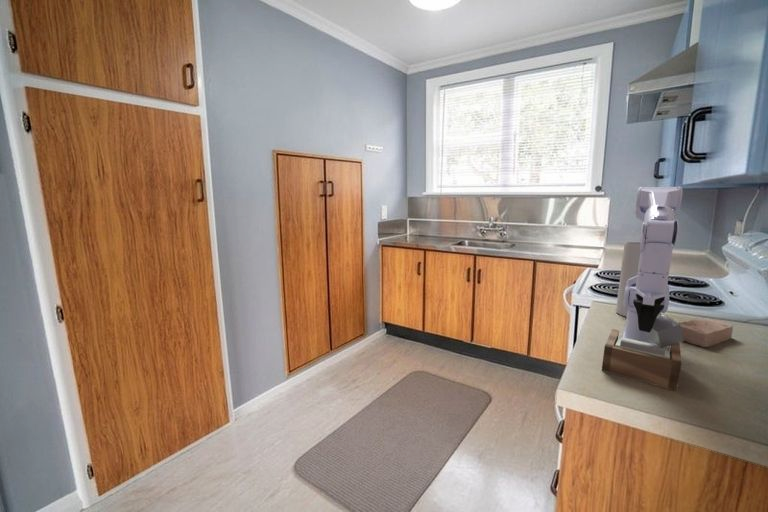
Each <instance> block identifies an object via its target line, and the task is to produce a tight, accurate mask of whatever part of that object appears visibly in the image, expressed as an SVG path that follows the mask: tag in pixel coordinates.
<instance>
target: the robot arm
mask: <svg viewBox="0 0 768 512" xmlns="http://www.w3.org/2000/svg"><path fill="white" fill-rule="evenodd" d="M683 192H684V190H683V188H682V186H679V185H678V186H652V187H651V186H648V187H647V186H645V187H644V186H639V188H638V189H637V193H636V201H635V202H636V203H635V215H636V216H635V218H636V219H638V220H640V221H642V224H641V228H640V229H641V230H640V237H639V242H641V248H640V251H641V254H640V260H639V268H638V275H637V276H635V277H633V278H631V279H629V280H628V281H627V283H626V287H625V294H624V301H623V305H624V306H625V307H627V305H628V312H627V317H626V321H625V327H624V328H625V329H624V331H623V332H622V333H623V334H622V336H621V337H623V338H628V339H632V340H637V341H641V342H646V343H651V344H655V343H654V342H653V341H652V340H650V339H649V338H648V335H647V332H651V330H652V328H653V325H654V322H655V320H656V318H658V317H660V315H661V316H662V314H665V313H666V312H668V309H669V304H670V286H669V284H668V283H669V282H668V281H669V278H670V277H669V276H670V269H671V263H672V257H673V256H672V255H673V251H674V247H675V246H676V244H677V241H678V239H679V230H680V225H679V220H678V219H676V218H677V216H678V214H679V210H680V208H681V204H682V199H683V194H684V193H683ZM672 245H673V246H672ZM628 300H629V301H628ZM655 345H657V344H655Z"/></svg>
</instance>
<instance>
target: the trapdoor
mask: <svg viewBox="0 0 768 512" xmlns="http://www.w3.org/2000/svg"><path fill="white" fill-rule="evenodd" d="M615 346H616V347H620V348H625V349H629V350H633V351H637V352H642V353H646V354H650V355H655V356H659V357H663V358H668V359H670V346H667V347H664V348H660V347H659V346H658V345H655V344H651V343H646V342H641V341H637V340H632V339H628V338H623V337H622V336H618V341H617V343H616V345H615Z"/></svg>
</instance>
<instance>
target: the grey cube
mask: <svg viewBox="0 0 768 512" xmlns="http://www.w3.org/2000/svg"><path fill="white" fill-rule="evenodd" d="M647 335H648V338H649V339H650V340H652V341H653V342H654V343H655V344H657V345H658V346H659V347H660V348H664V347H671V345H673V344H677V343H680V344H681V343H683V342H685V341H684V340H683V335H682V330H681V326H680V324H679V322H677V321H676V320H674V319H672V317H669V316H668V315H667V314H664V315H661V317H658V318H656V320H655V322H654V325H653V328H652V330H651V332H647Z"/></svg>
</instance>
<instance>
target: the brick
mask: <svg viewBox="0 0 768 512" xmlns="http://www.w3.org/2000/svg"><path fill="white" fill-rule="evenodd" d="M678 323H679V324H680V326H681V330H682V335H683V340H684V341H683V342H686V343H689V344H691V345H696V346H700V347H702V348H703V347H704V348H708V347H711V346H714V345H718V344H720V343H723V342H724V341H725V342H726V341H728V340H730V339H732V338H733V329H734V326H733V325H731V324H728V323H726V322H722V321H718V320H713V319H707V318H705V317H704V318H703V317H700V318H699V317H698V318H694V319H691V320H689V321H683V322H678Z"/></svg>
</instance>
